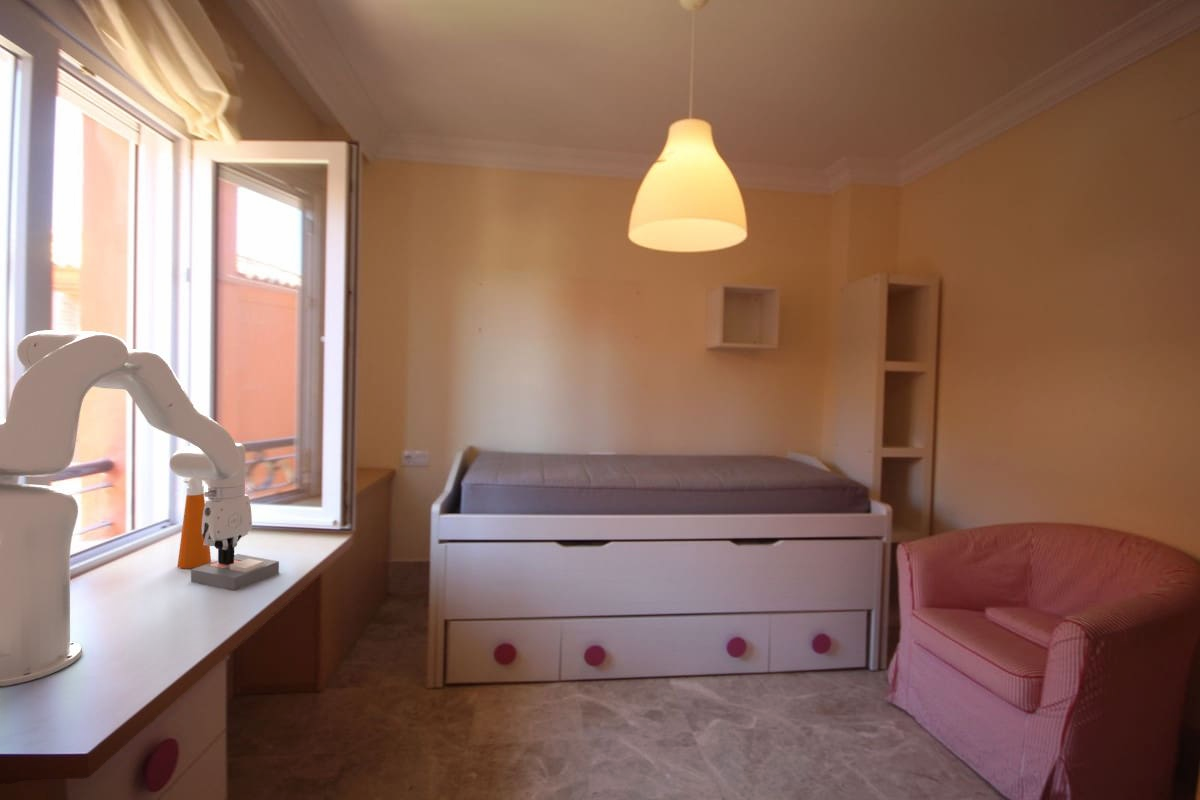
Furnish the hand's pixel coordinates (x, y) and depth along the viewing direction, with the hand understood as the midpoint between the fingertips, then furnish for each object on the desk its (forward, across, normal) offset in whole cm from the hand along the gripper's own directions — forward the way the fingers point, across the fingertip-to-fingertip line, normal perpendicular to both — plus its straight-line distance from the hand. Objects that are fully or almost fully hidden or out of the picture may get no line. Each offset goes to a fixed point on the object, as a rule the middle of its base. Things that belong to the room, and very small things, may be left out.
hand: (226, 563), depth 131 cm
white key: (+1, 0, -7) cm, 7 cm away
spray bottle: (+3, +4, +14) cm, 15 cm away
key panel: (+3, 0, -4) cm, 5 cm away
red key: (+2, 0, 0) cm, 2 cm away
